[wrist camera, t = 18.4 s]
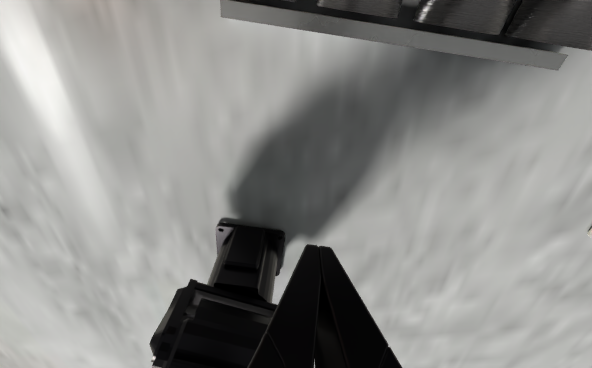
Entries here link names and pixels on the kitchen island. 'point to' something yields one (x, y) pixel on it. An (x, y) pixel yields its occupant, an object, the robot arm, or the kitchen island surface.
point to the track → (445, 25)
